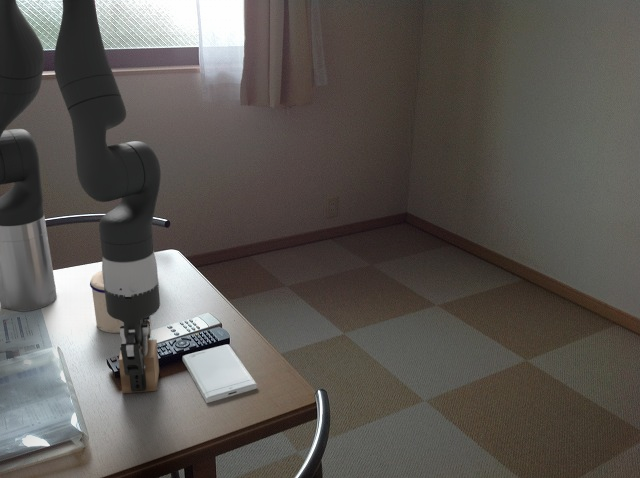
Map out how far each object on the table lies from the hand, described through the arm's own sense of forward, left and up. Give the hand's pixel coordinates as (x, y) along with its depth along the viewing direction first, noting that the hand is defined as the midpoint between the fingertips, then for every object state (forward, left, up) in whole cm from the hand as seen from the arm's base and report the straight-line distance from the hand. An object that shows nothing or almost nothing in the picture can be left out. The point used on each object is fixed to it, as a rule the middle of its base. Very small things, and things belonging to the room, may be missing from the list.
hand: (140, 378), depth 91 cm
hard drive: (+12, +1, -2) cm, 12 cm away
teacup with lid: (-6, +21, -1) cm, 22 cm away
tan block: (0, 0, -1) cm, 1 cm away
